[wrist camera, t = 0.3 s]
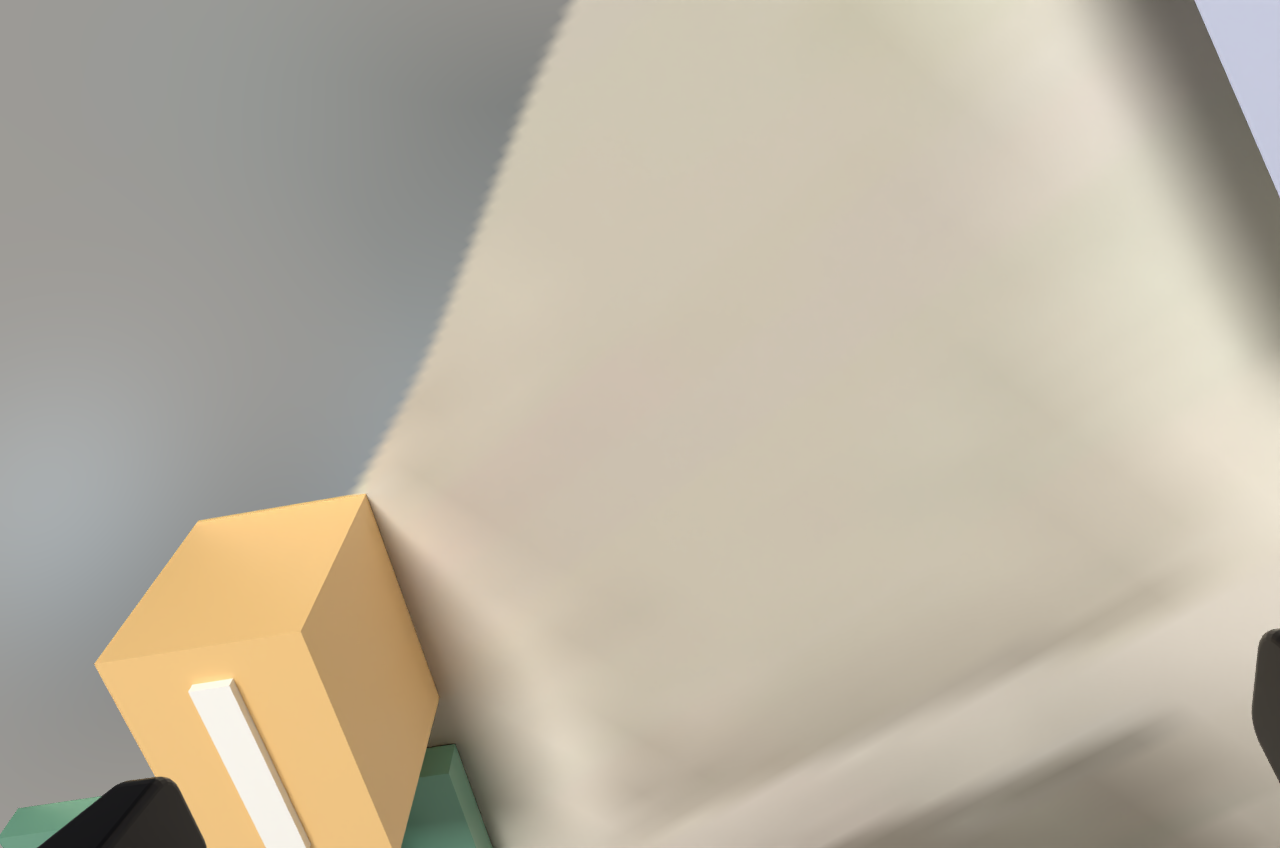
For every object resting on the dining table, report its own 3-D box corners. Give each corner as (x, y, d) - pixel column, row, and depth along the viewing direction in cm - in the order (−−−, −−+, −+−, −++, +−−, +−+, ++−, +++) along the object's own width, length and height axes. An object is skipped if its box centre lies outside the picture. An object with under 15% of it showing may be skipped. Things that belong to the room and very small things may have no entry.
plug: (440, 695, 26) (395, 868, 21) (287, 718, 26) (210, 894, 21) (366, 492, 23) (297, 638, 19) (198, 520, 24) (89, 671, 19)
